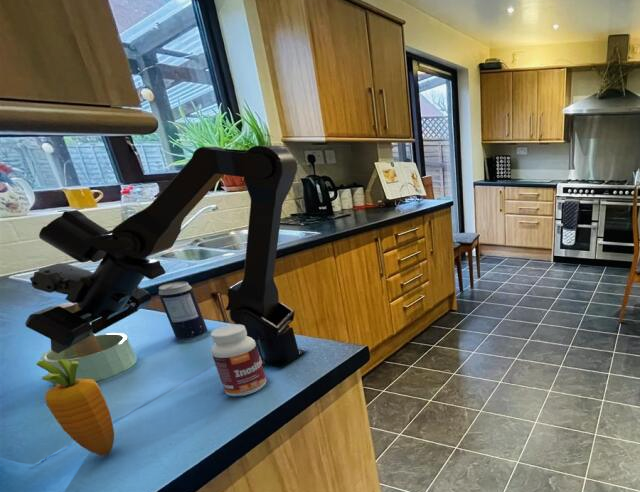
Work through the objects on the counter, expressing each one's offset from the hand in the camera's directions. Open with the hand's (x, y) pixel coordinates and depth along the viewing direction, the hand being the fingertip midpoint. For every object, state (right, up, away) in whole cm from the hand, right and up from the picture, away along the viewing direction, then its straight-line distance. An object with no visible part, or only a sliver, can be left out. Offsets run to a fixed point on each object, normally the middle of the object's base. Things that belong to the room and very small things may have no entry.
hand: (74, 341), depth 72 cm
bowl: (+1, -6, +3) cm, 7 cm away
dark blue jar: (+8, 0, +16) cm, 18 cm away
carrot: (+24, -15, -18) cm, 33 cm away
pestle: (+1, -5, +3) cm, 6 cm away
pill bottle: (+33, -8, -3) cm, 34 cm away
